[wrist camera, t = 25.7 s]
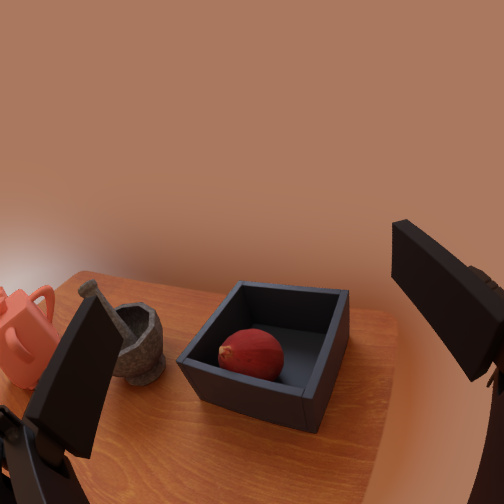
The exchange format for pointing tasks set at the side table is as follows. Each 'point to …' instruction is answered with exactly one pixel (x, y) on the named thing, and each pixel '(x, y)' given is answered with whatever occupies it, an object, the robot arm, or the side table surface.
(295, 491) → the side table surface
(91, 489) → the side table surface
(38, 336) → the teapot
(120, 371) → the mortar and pestle
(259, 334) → the onion
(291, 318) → the dark blue open box
